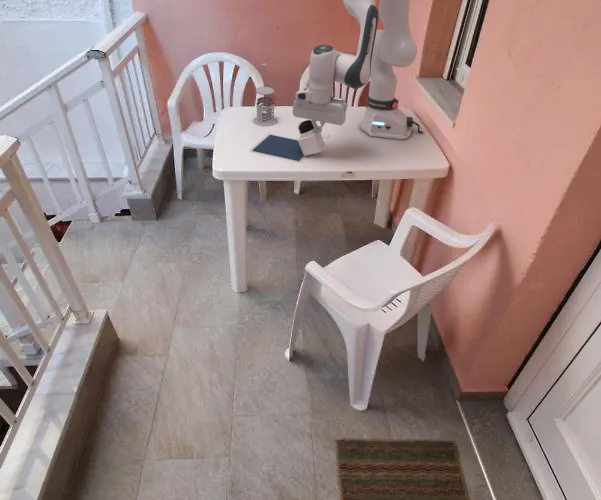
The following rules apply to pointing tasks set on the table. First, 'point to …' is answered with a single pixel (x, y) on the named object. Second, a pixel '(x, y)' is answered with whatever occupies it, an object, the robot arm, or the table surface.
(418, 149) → the table surface
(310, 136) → the medicine bottle
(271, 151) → the mat
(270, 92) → the french press
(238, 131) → the table surface
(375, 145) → the table surface
